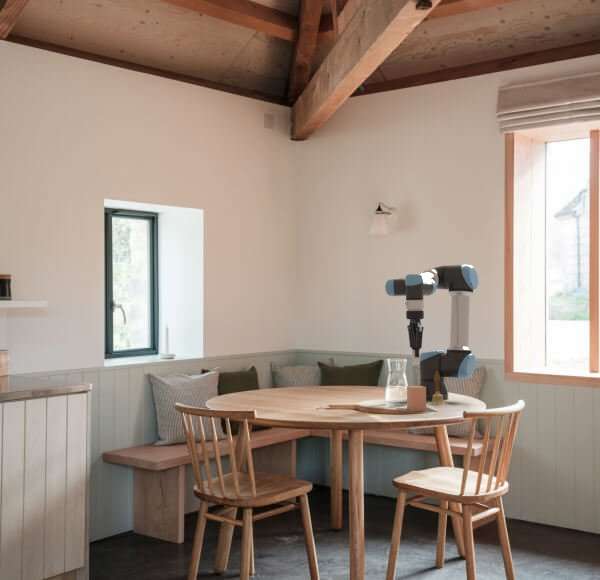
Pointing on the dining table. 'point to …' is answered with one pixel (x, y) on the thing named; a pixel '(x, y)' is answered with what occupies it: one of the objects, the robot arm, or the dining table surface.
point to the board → (416, 411)
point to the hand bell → (437, 391)
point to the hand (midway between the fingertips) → (416, 364)
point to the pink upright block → (416, 398)
